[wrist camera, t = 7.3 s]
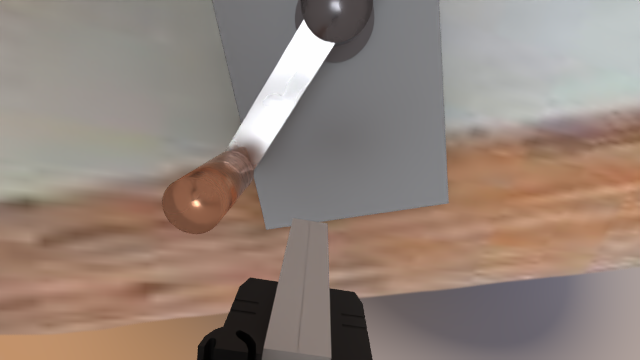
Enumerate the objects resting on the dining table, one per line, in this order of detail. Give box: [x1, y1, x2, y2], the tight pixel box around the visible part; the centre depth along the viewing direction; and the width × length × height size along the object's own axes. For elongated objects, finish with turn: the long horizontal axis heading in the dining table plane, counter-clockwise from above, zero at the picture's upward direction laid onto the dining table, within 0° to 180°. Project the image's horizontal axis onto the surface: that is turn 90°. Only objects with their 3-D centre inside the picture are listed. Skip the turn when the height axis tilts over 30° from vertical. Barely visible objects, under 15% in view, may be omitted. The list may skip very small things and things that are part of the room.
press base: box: [212, 0, 449, 230], centre depth 24 cm, size 25×17×4 cm
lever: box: [162, 0, 373, 234], centre depth 18 cm, size 22×4×11 cm, turn 146°
